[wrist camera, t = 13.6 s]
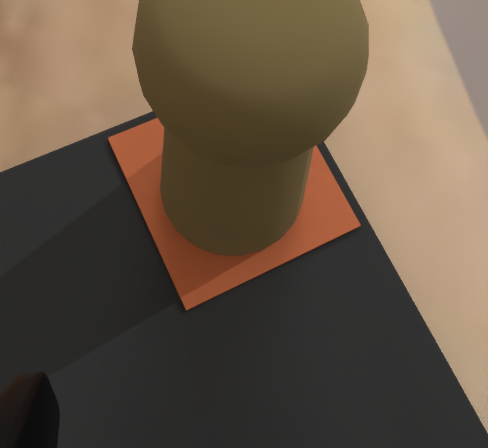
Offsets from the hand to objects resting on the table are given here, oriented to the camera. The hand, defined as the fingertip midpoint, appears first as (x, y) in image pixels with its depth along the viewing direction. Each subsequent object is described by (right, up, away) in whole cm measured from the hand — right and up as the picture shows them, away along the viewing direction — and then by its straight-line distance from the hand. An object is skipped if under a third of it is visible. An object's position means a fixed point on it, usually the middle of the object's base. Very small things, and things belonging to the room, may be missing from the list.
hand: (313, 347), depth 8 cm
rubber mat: (-3, -4, +10) cm, 11 cm away
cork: (-2, +4, +11) cm, 12 cm away
